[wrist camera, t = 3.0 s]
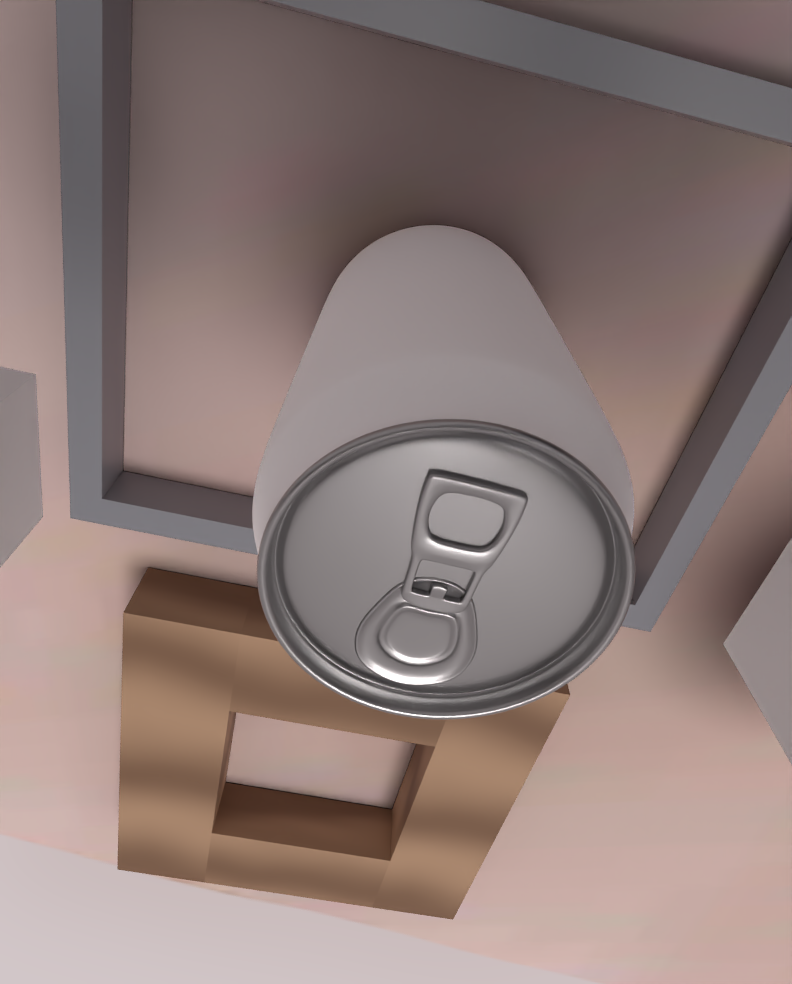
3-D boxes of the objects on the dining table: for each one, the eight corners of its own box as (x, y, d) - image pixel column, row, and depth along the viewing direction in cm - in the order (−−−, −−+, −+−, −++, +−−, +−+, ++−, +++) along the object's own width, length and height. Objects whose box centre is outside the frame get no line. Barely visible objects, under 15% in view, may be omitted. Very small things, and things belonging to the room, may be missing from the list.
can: (303, 403, 22) (202, 694, 11) (349, 191, 18) (265, 330, 8) (495, 453, 22) (563, 768, 12) (573, 257, 19) (756, 462, 9)
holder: (148, 567, 25) (123, 612, 23) (557, 645, 27) (569, 694, 25) (136, 818, 33) (117, 869, 31) (450, 867, 35) (452, 919, 33)
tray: (88, -101, 15) (52, -121, 14) (890, 125, 17) (937, 129, 16) (93, 489, 23) (70, 517, 22) (636, 598, 25) (650, 631, 24)
